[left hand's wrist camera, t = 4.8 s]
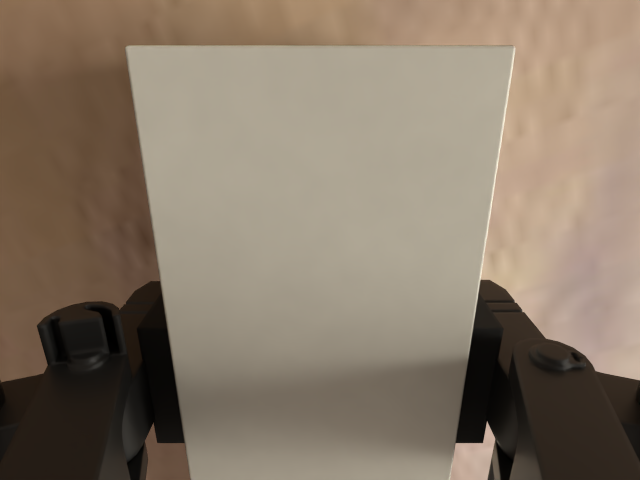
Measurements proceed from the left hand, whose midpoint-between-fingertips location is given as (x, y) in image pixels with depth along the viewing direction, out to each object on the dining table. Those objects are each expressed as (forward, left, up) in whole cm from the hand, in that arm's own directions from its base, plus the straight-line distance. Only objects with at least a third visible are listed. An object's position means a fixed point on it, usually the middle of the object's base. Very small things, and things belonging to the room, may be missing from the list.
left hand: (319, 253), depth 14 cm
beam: (+31, +7, -1) cm, 32 cm away
